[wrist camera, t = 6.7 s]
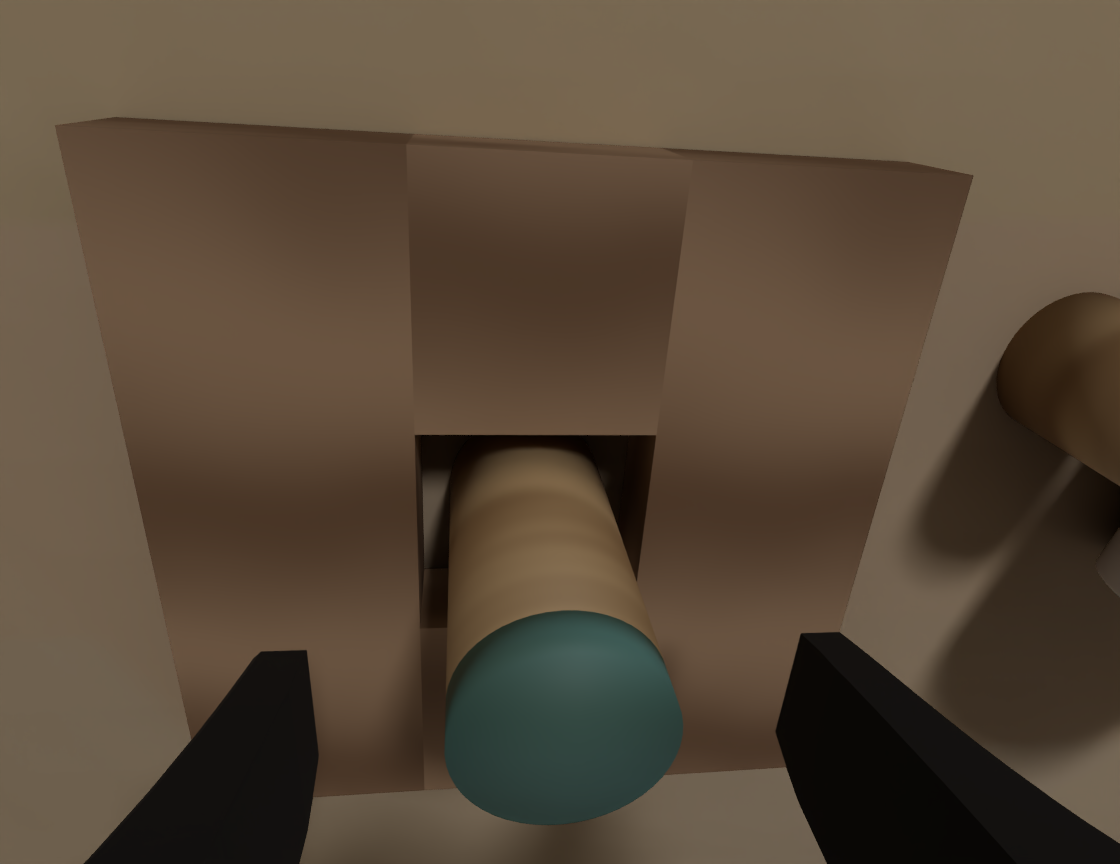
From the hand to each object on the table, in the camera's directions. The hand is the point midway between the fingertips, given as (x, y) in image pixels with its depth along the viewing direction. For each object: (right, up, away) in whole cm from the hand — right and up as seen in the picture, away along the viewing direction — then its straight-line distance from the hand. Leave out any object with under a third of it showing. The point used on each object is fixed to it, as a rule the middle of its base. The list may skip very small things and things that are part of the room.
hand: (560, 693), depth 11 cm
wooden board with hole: (-1, +3, +5) cm, 6 cm away
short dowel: (+11, +5, +6) cm, 14 cm away
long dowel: (-1, +3, +5) cm, 6 cm away
